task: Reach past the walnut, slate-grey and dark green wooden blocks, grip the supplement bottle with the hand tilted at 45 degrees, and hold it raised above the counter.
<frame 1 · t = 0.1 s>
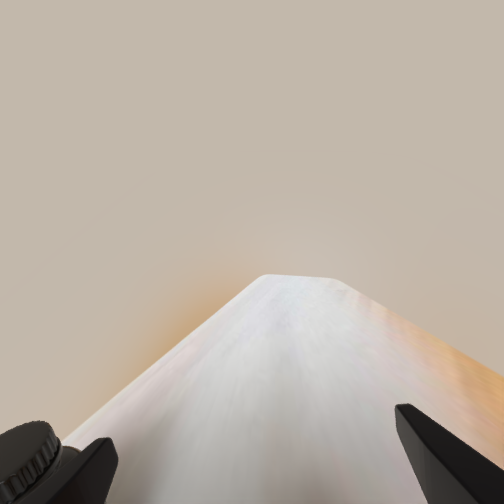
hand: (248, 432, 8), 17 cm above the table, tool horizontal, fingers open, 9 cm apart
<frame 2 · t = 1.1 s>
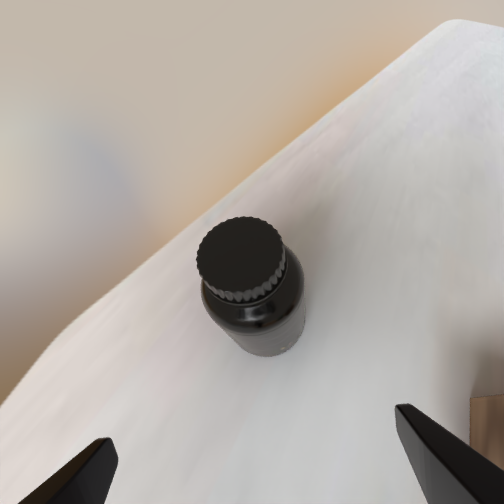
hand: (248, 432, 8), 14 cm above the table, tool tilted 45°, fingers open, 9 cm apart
supplement bottle: (267, 320, 24), on the table
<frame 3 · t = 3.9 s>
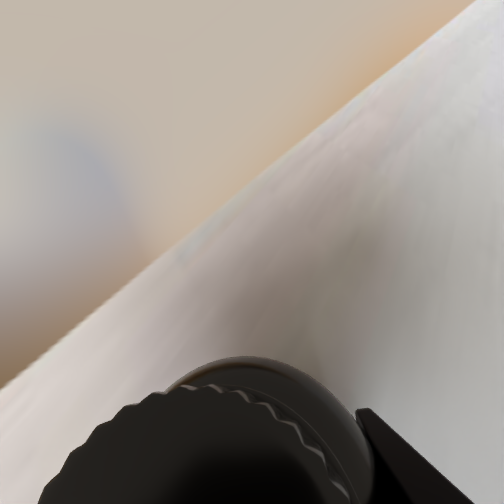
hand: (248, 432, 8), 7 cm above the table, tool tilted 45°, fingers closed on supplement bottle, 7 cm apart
supplement bottle: (276, 459, 13), on the table, touching gripper
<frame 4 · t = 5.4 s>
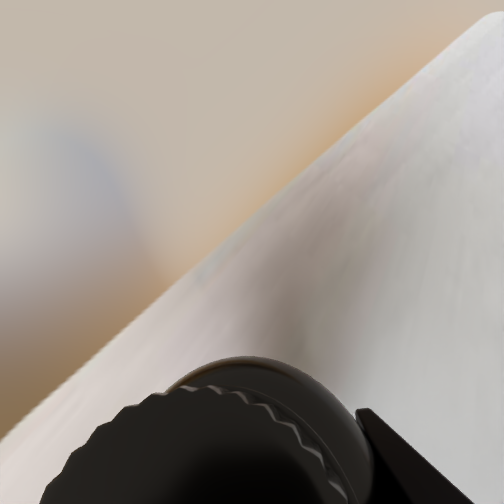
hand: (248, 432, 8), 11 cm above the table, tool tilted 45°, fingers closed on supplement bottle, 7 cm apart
supplement bottle: (277, 457, 13), point 4 cm above the table, touching gripper
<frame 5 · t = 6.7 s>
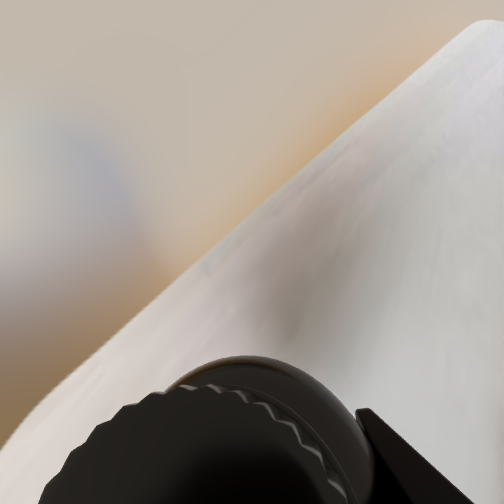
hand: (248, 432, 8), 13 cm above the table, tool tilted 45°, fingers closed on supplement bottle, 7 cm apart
supplement bottle: (277, 457, 13), point 6 cm above the table, touching gripper
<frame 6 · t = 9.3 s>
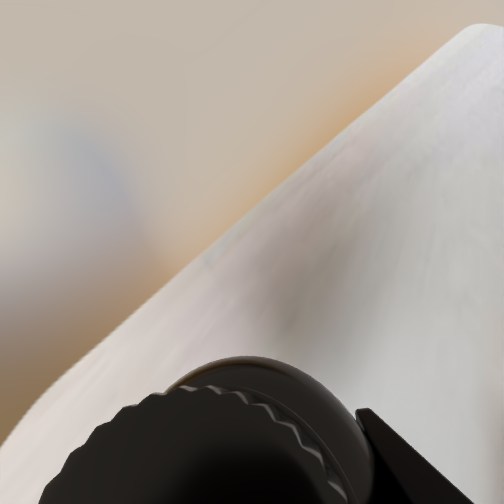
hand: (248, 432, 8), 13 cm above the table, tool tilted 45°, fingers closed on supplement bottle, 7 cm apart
supplement bottle: (277, 457, 13), point 6 cm above the table, touching gripper
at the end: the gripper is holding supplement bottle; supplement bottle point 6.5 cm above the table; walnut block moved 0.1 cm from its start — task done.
